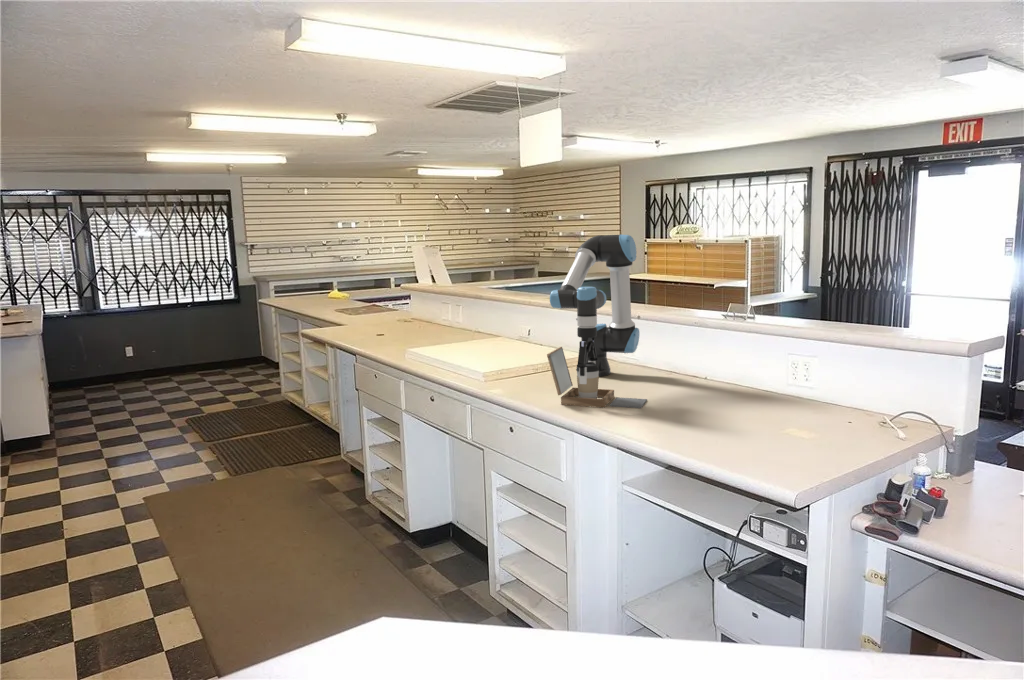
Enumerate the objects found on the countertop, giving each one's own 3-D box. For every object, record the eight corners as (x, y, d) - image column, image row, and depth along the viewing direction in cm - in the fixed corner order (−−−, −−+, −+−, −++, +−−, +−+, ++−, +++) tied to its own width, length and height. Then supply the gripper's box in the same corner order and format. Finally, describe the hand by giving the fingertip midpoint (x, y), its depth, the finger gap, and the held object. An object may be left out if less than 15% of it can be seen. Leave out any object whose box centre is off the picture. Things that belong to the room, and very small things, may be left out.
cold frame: (573, 394, 272) (573, 387, 271) (614, 397, 266) (614, 389, 265) (561, 404, 256) (560, 397, 256) (604, 407, 250) (604, 399, 250)
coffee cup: (592, 404, 255) (591, 366, 252) (572, 401, 260) (571, 364, 258) (603, 399, 262) (603, 362, 259) (584, 397, 267) (583, 360, 265)
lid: (572, 385, 271) (570, 385, 272) (562, 346, 270) (559, 347, 271) (560, 394, 256) (558, 395, 256) (549, 353, 255) (546, 354, 255)
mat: (616, 398, 263) (616, 397, 263) (646, 400, 258) (646, 399, 258) (609, 406, 252) (609, 404, 252) (641, 408, 247) (641, 406, 247)
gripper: (586, 322, 269) (586, 373, 272) (568, 330, 246) (569, 386, 249) (604, 323, 266) (604, 374, 270) (588, 331, 244) (588, 387, 247)
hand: (587, 380), depth 259 cm, fingers open, 13 cm apart
